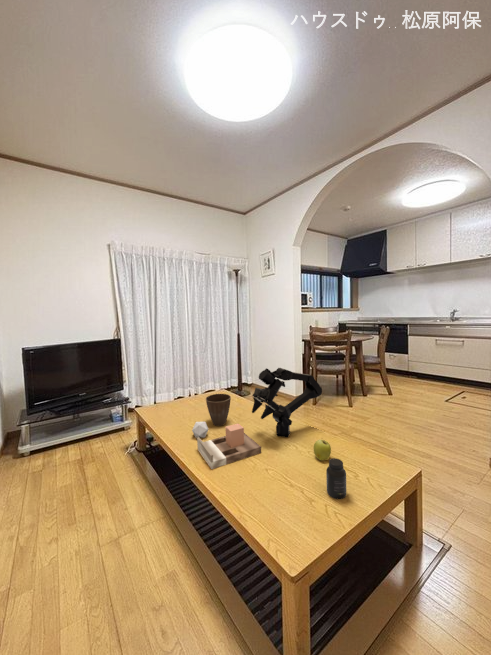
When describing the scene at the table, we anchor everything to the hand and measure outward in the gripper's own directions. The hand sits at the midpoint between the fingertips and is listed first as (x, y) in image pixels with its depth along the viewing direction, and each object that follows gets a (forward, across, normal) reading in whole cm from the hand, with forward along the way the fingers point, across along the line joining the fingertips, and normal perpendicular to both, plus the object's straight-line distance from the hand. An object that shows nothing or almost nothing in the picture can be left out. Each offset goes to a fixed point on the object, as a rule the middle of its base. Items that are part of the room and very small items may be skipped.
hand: (256, 415), depth 134 cm
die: (+26, -21, -9) cm, 35 cm away
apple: (-1, +28, +23) cm, 36 cm away
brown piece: (+21, +1, -3) cm, 21 cm away
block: (+17, +1, -3) cm, 17 cm away
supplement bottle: (+7, +48, +14) cm, 50 cm away
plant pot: (+16, -31, +2) cm, 35 cm away
